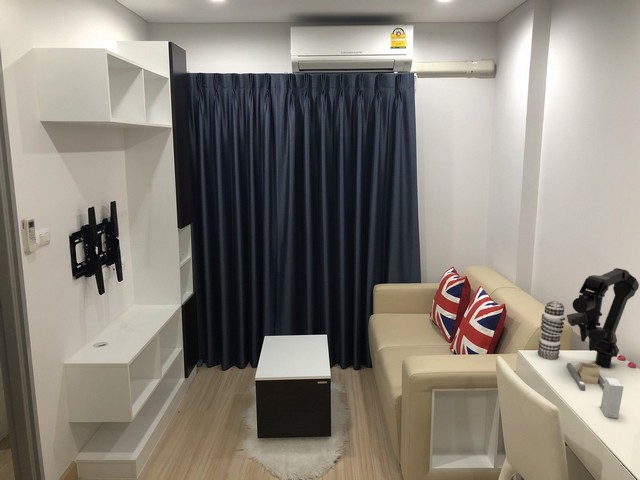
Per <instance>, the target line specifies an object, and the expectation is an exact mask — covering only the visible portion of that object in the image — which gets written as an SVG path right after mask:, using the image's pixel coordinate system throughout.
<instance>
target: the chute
mask: <svg viewBox="0 0 640 480" xmlns="http://www.w3.org/2000/svg"><path fill="white" fill-rule="evenodd" d="M566 368H567V370H568V372H569V373H570V375H571V377H572V379H573V380H574V382H575V384H576V385H577V387H578V389H579V390H580V391H582V392H583V391H584V392H585V391H586V383H584V382H583V381H582V380H581V378H580V377H579V375H578V371H577V370H576V368H575V367H574V366H573V364H572V363H571V362H566ZM604 383H605V379H604V378H603V377H602V376H601V374H600V373H599V378H598V384H597V385H599V387H600V388H601V390H602V391H603V389H604Z"/></svg>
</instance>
